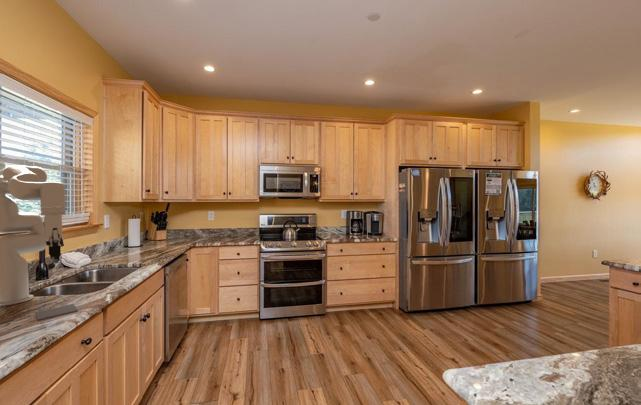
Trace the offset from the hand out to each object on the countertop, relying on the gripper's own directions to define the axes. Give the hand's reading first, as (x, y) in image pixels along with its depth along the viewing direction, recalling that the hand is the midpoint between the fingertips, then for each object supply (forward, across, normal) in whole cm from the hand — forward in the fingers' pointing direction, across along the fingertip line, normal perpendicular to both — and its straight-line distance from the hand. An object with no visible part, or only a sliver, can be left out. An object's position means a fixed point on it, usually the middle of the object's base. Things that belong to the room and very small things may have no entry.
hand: (54, 254), depth 117 cm
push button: (+3, 0, 0) cm, 3 cm away
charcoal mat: (+24, 0, 0) cm, 24 cm away
